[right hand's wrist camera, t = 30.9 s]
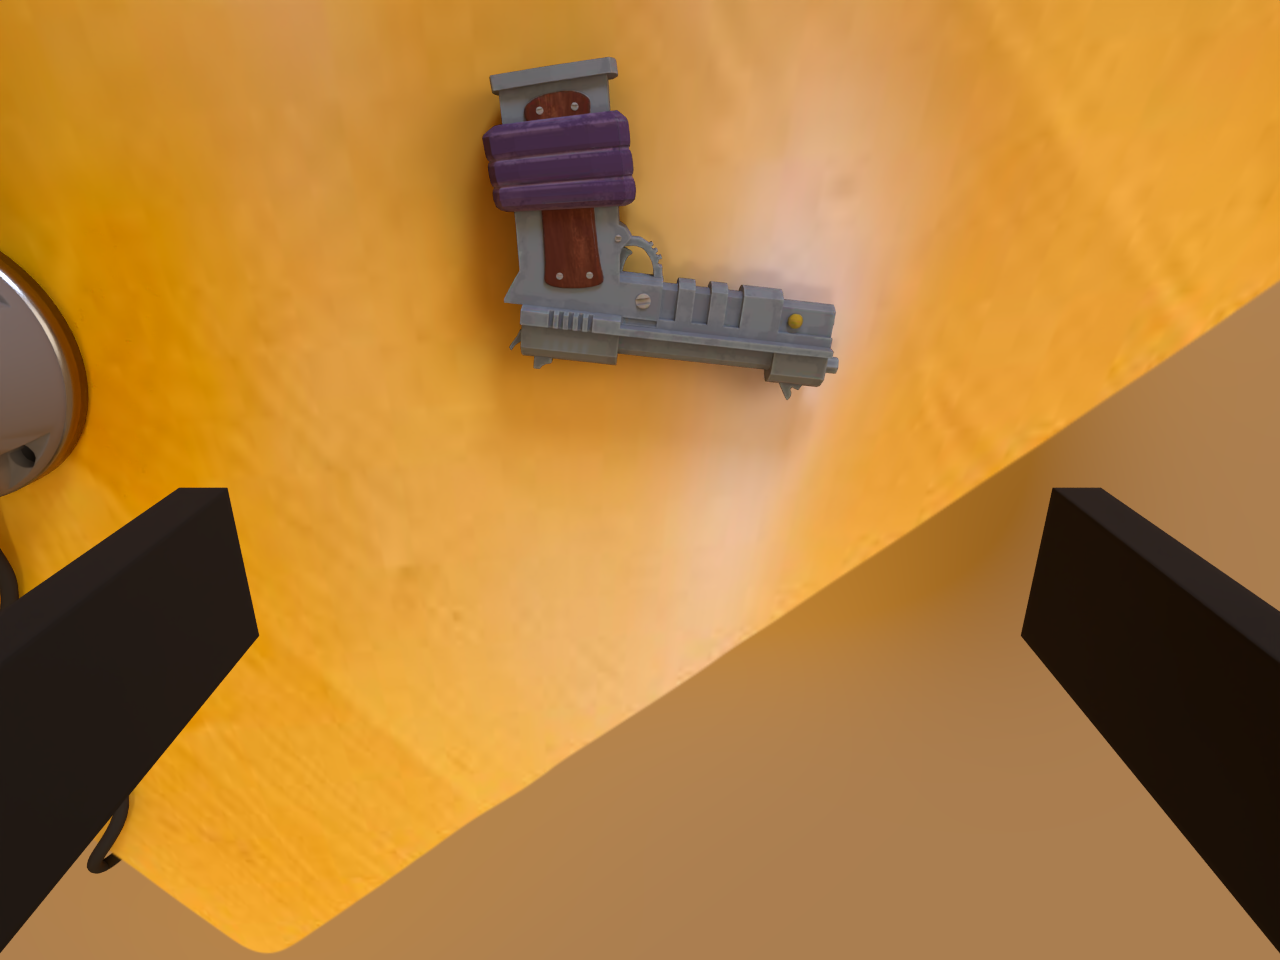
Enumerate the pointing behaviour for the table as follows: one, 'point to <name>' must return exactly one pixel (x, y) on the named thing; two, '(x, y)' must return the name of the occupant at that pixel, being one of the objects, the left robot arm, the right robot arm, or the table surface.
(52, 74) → the table surface
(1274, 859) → the right robot arm
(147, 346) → the table surface
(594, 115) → the toy gun
